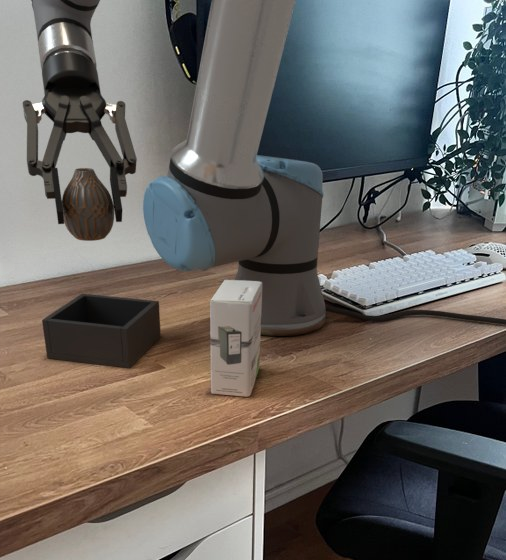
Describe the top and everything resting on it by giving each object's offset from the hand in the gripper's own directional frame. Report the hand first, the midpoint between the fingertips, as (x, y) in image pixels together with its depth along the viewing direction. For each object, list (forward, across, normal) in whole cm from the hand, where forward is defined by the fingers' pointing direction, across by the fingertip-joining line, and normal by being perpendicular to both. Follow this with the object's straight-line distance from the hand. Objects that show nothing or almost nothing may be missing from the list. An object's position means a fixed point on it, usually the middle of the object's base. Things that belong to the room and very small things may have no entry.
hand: (90, 216), depth 90 cm
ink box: (+26, -15, +2) cm, 30 cm away
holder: (+15, 0, -8) cm, 17 cm away
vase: (0, 0, -5) cm, 5 cm away
